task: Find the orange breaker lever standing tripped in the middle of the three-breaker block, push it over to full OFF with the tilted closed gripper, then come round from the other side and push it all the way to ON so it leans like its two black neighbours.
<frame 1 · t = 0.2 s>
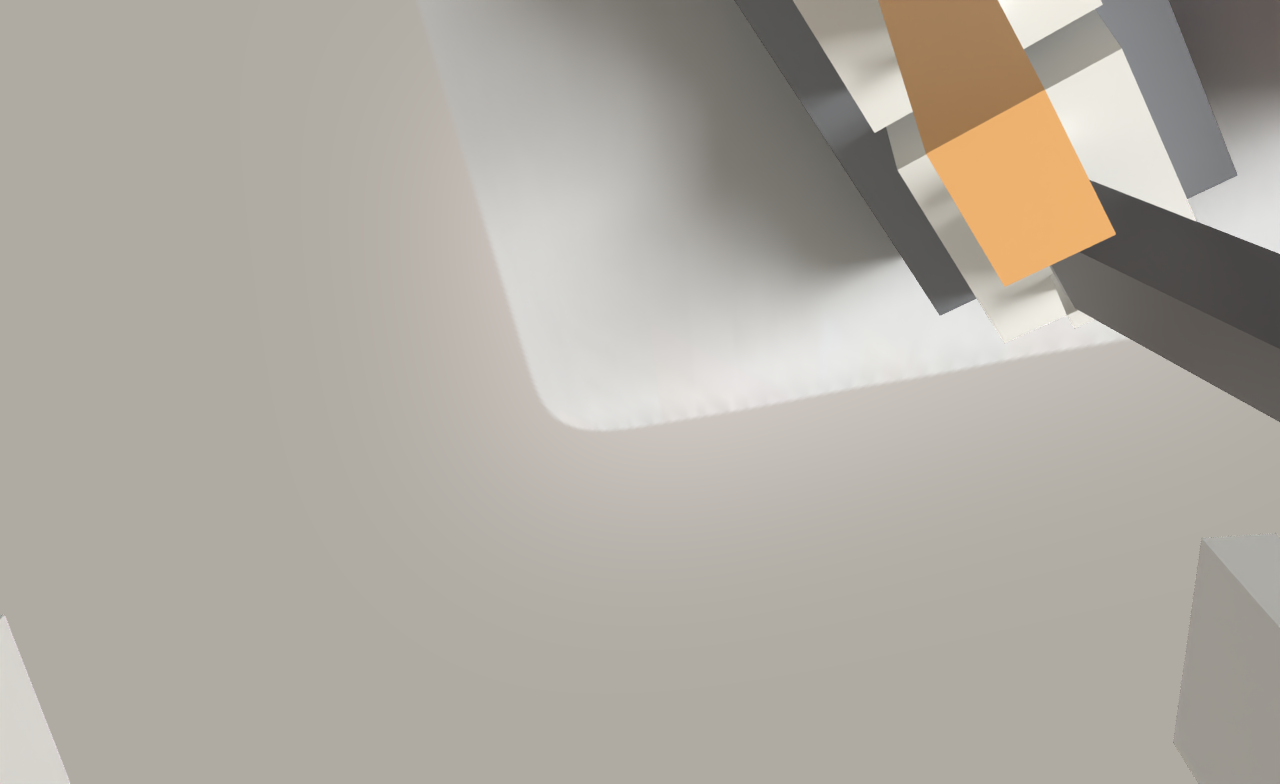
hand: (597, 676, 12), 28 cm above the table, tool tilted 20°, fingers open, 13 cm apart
tripped lever: (964, 56, 22), point 13 cm above the table, hinge at 0.0°
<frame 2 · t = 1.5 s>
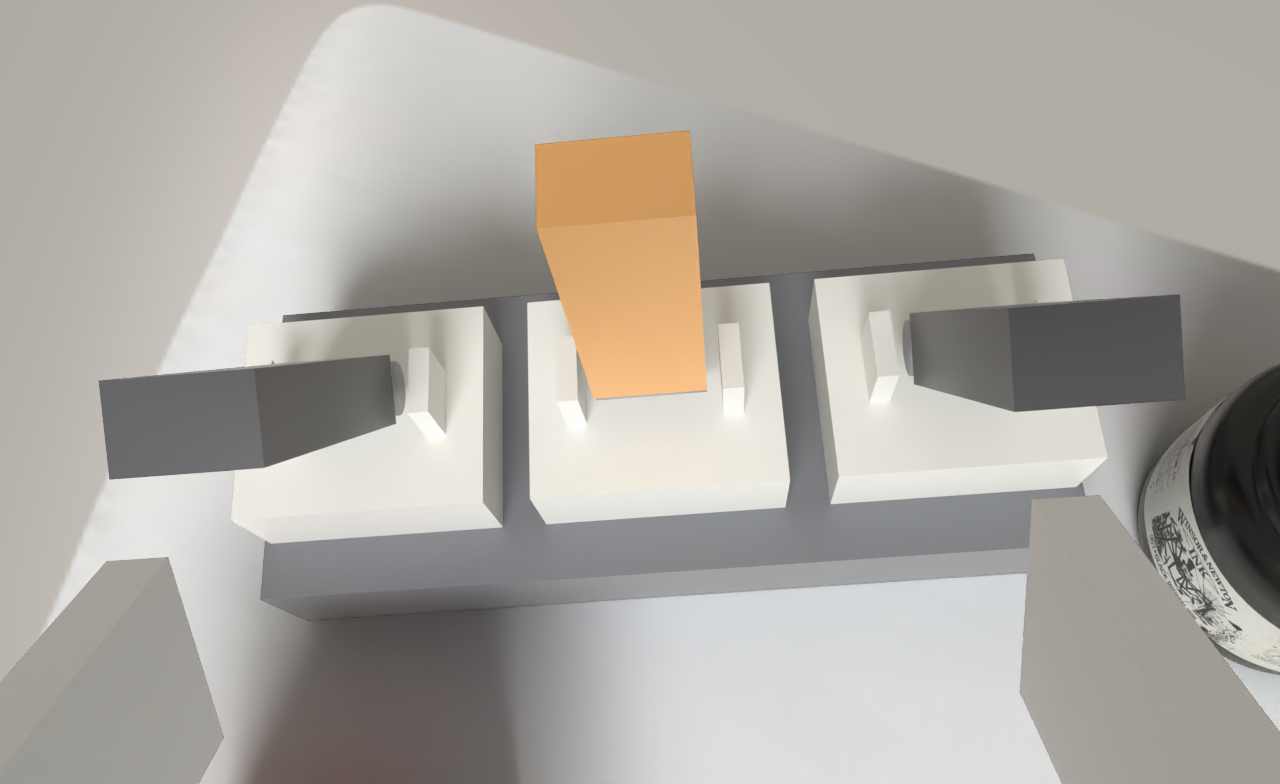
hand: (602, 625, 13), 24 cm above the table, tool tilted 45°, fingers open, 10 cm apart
ink bottle: (1266, 545, 36), on the table
breaker block: (666, 458, 39), on the table
tripped lever: (636, 297, 27), point 13 cm above the table, hinge at 0.0°
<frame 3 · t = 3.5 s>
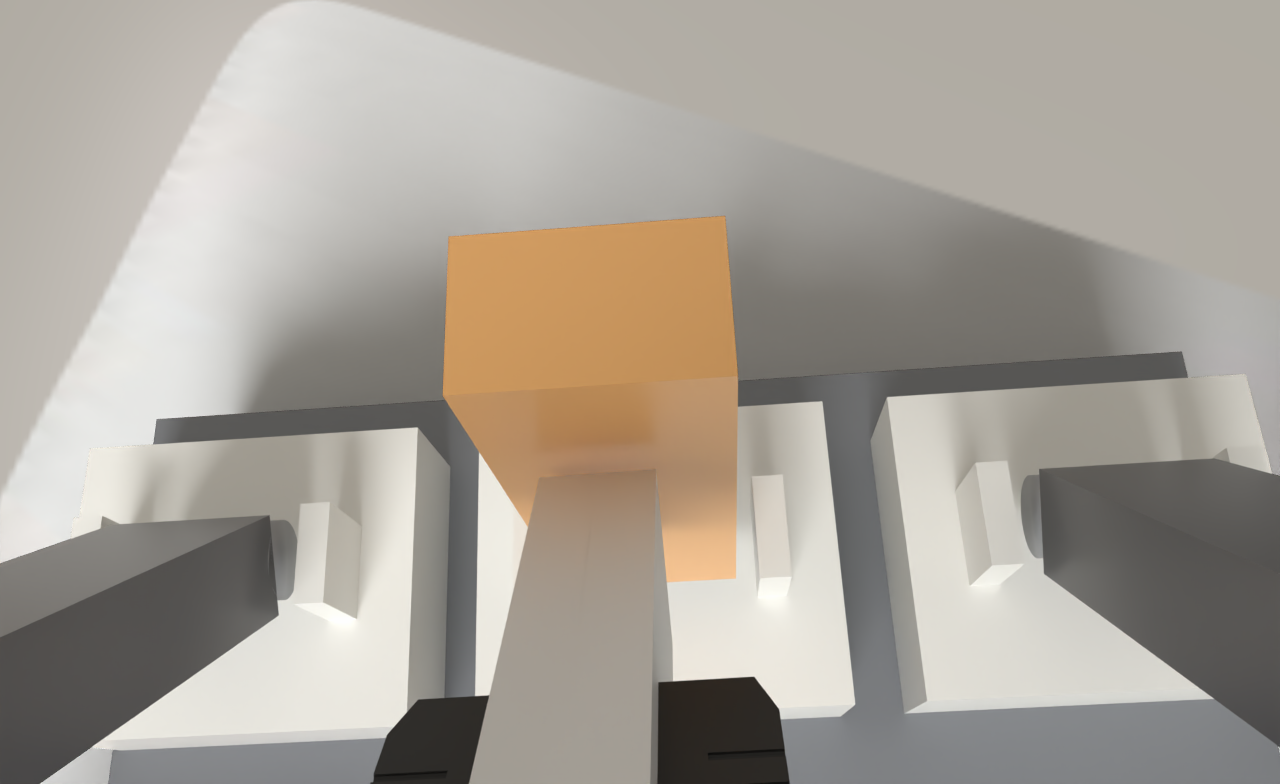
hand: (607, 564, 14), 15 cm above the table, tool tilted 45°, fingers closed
breaker block: (672, 611, 29), on the table
tripped lever: (630, 462, 17), point 13 cm above the table, hinge at 1.7°, touching gripper
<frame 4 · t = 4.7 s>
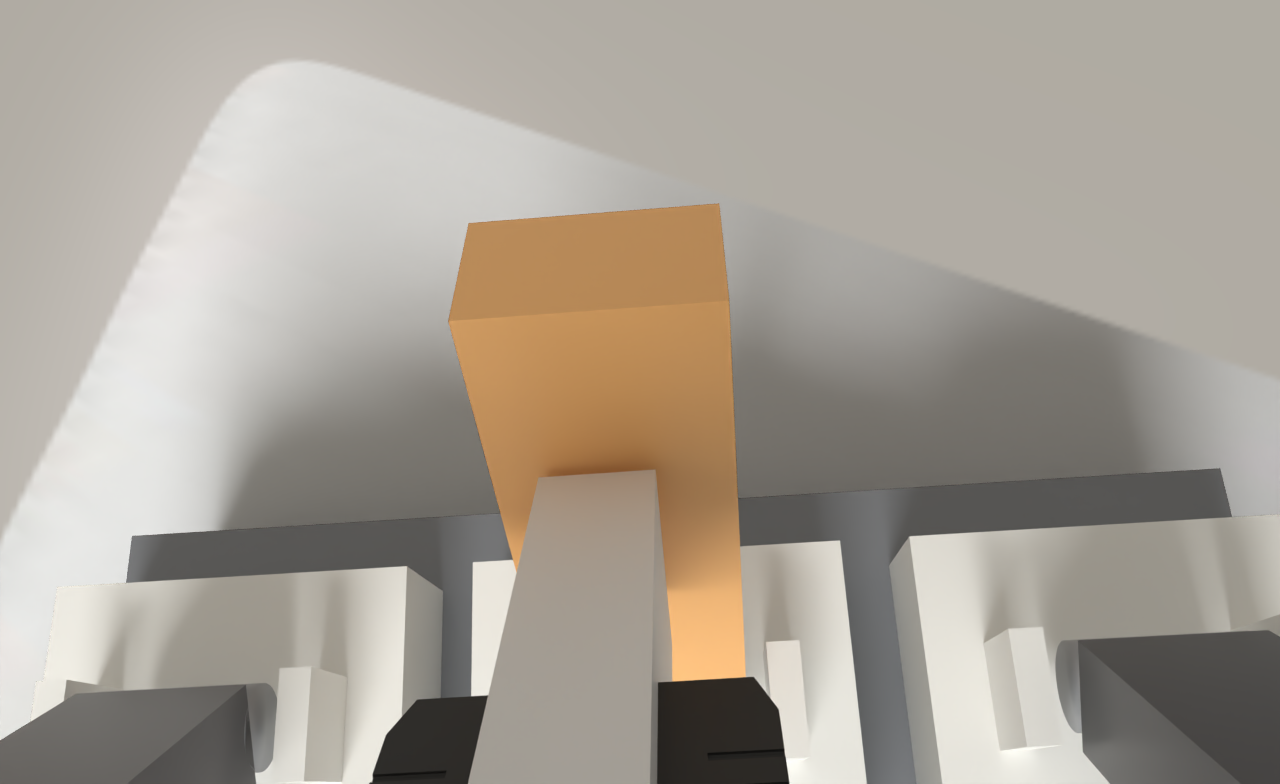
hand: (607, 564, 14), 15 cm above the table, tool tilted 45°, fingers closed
breaker block: (678, 731, 28), on the table
tripped lever: (633, 546, 16), point 13 cm above the table, hinge at 27.0°, touching gripper
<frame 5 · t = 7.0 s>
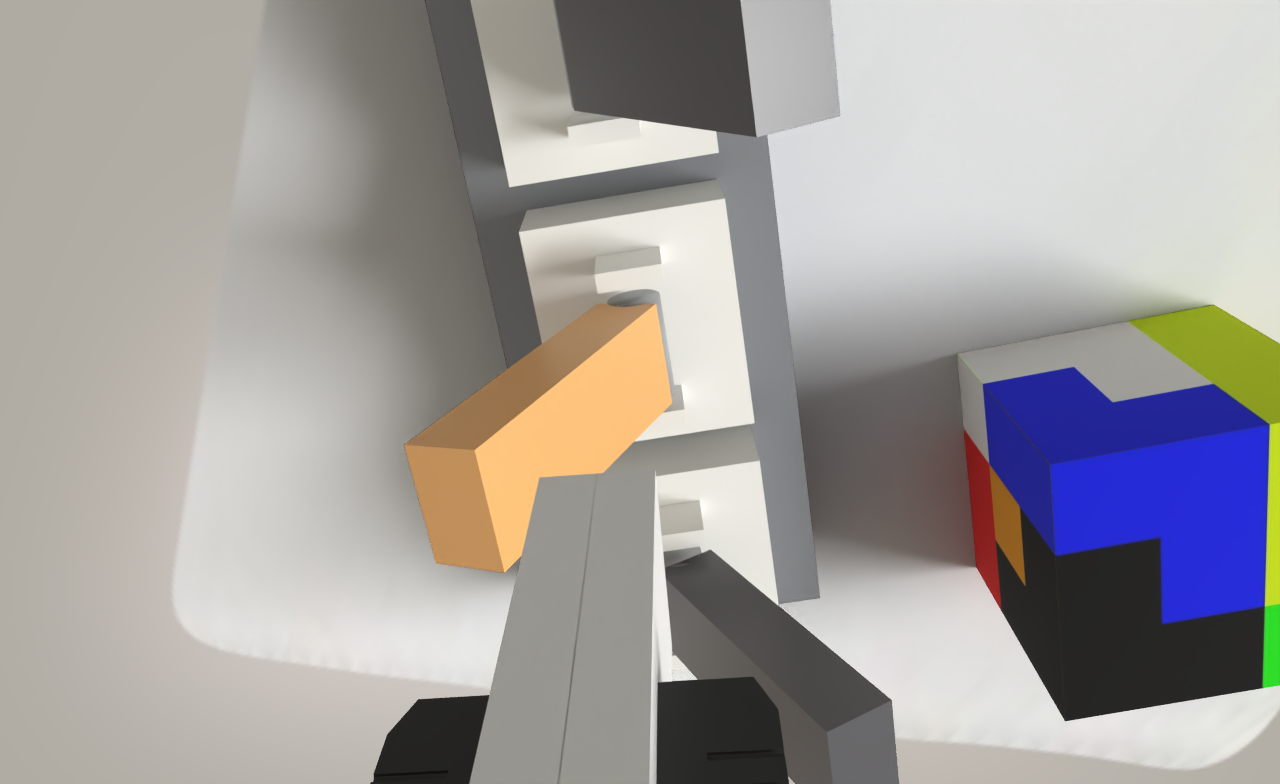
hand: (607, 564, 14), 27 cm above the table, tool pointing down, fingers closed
puzzle toy: (1086, 439, 44), on the table
breaker block: (638, 270, 41), on the table
tripped lever: (568, 410, 29), point 13 cm above the table, hinge at 27.0°
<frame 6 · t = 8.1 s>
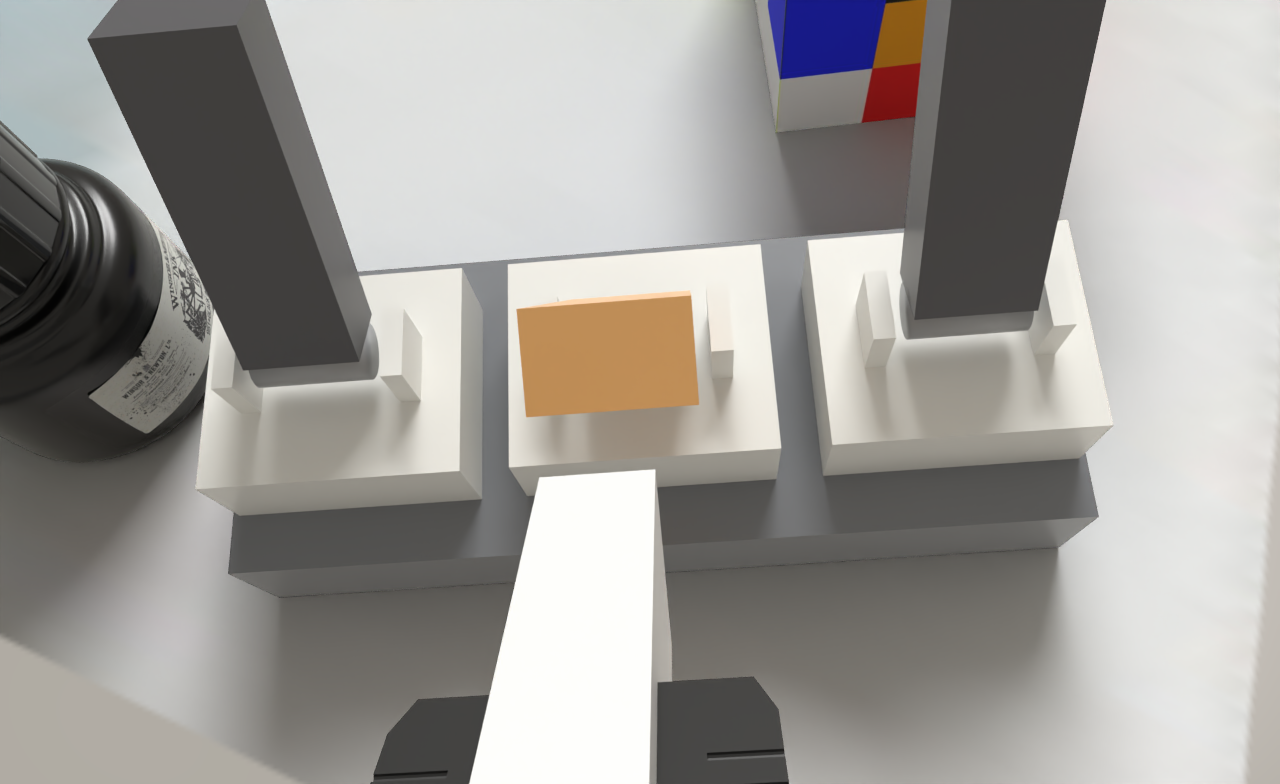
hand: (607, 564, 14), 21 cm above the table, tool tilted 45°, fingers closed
puzzle toy: (882, 18, 43), on the table
ink bottle: (115, 356, 40), on the table
breaker block: (653, 430, 37), on the table
tripped lever: (624, 340, 25), point 13 cm above the table, hinge at 27.0°
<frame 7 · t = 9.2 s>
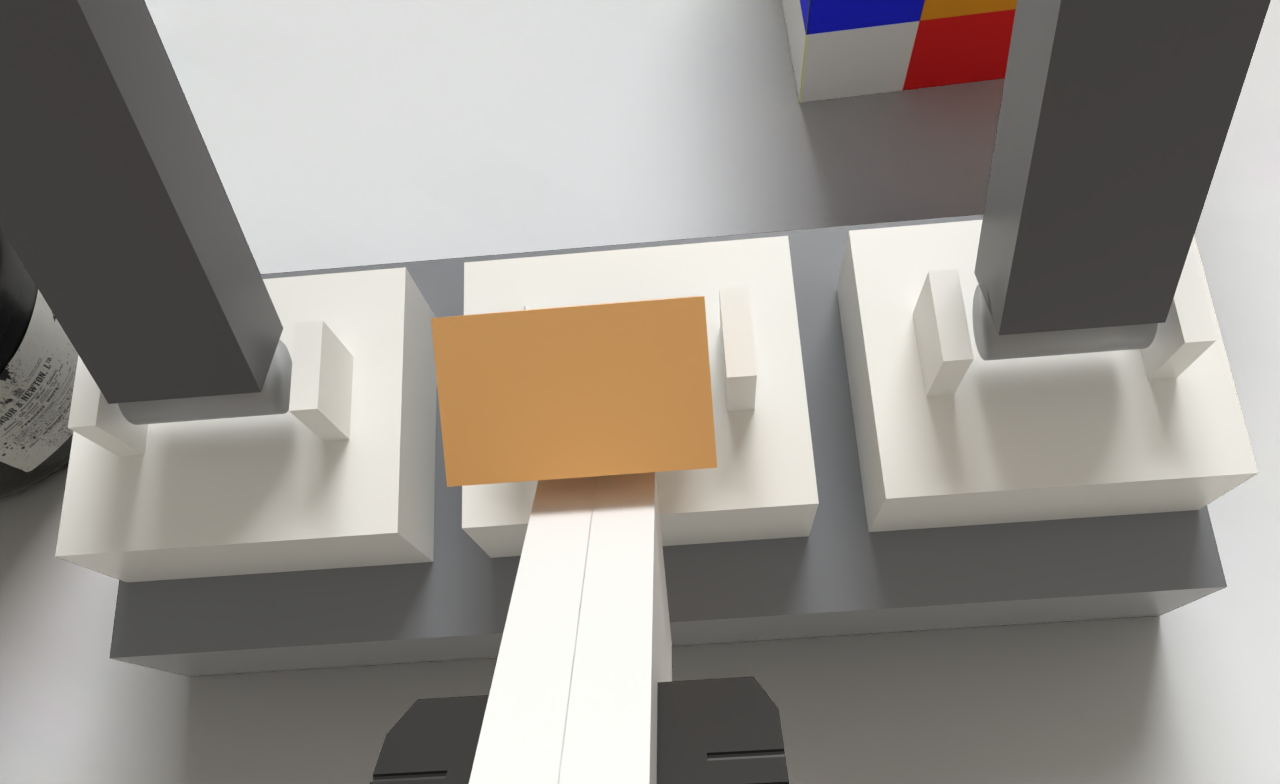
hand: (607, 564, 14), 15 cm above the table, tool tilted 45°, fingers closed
ink bottle: (1, 375, 33), on the table
breaker block: (652, 467, 30), on the table
tripped lever: (608, 363, 18), point 13 cm above the table, hinge at 26.0°, touching gripper
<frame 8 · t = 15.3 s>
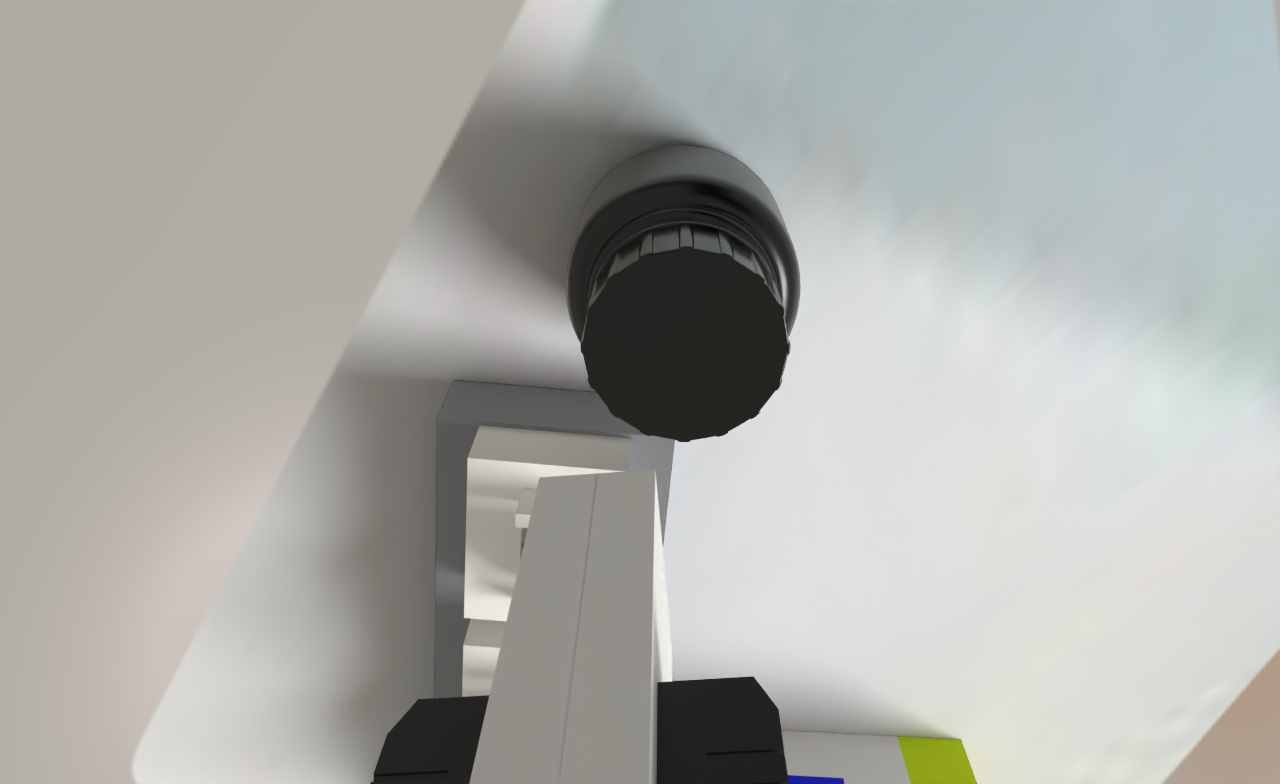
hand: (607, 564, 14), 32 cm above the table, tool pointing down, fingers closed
ink bottle: (680, 245, 46), on the table
breaker block: (549, 626, 54), on the table
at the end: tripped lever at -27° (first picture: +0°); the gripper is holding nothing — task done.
